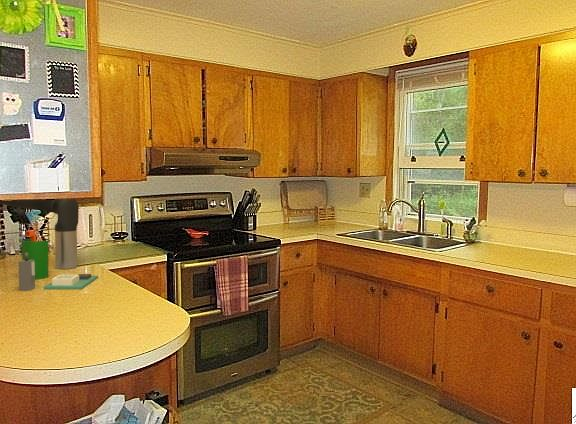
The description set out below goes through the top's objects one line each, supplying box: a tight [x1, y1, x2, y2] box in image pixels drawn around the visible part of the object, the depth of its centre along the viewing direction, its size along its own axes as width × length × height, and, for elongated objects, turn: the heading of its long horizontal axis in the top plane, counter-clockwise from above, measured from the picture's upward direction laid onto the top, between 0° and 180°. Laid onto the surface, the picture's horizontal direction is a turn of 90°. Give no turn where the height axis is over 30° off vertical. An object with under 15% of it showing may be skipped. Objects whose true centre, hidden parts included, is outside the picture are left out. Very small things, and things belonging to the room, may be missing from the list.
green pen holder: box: [21, 229, 49, 280], centre depth 202 cm, size 10×9×20 cm
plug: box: [18, 253, 36, 292], centre depth 182 cm, size 4×5×14 cm
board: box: [43, 272, 99, 290], centre depth 193 cm, size 20×14×4 cm
